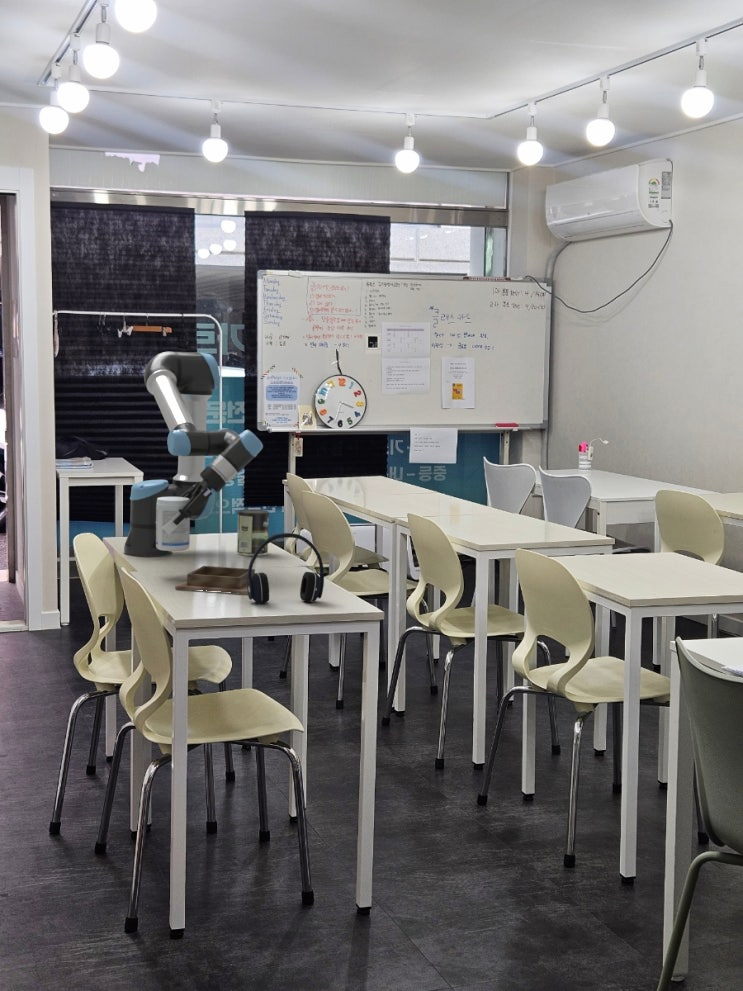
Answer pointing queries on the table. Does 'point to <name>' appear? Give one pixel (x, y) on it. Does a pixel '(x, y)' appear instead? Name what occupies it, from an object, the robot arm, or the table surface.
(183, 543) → the supplement tub
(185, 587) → the tray
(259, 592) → the headphones
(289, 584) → the table surface
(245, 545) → the coffee can
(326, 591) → the table surface
